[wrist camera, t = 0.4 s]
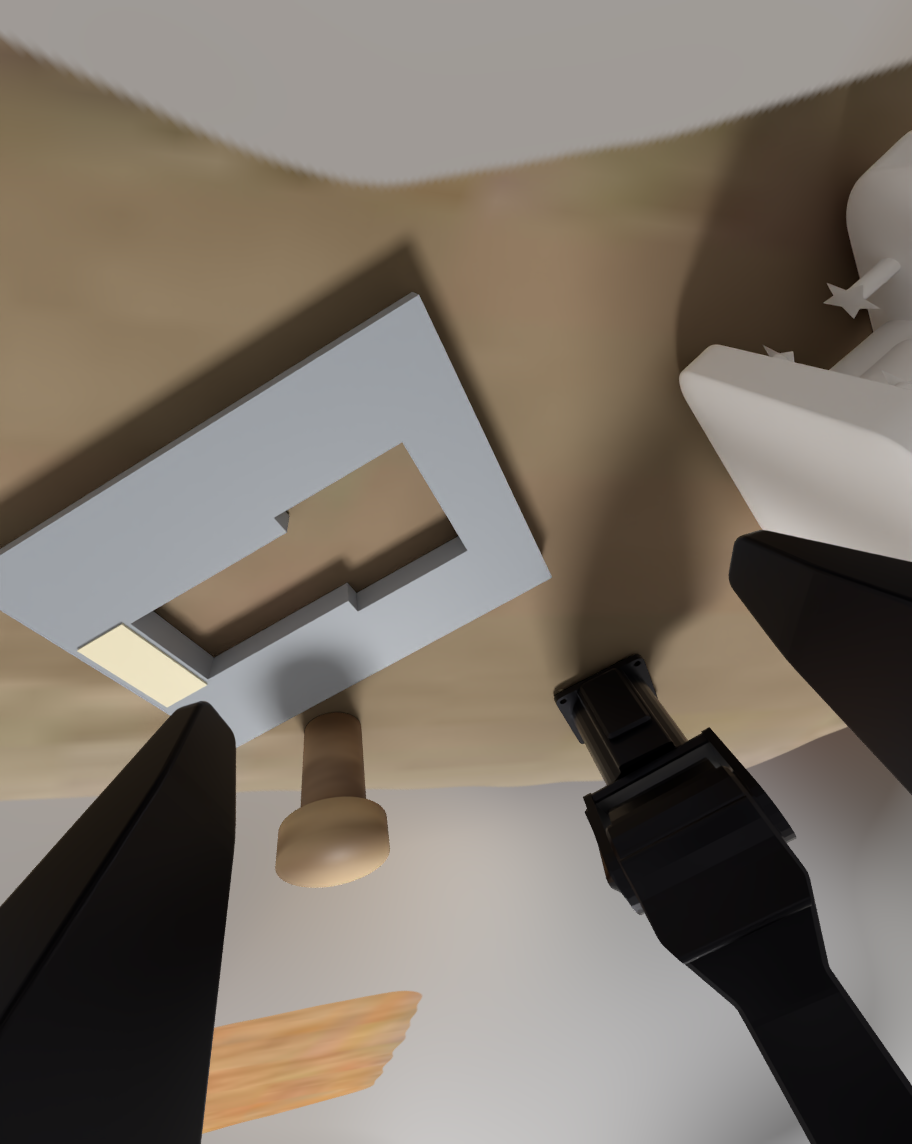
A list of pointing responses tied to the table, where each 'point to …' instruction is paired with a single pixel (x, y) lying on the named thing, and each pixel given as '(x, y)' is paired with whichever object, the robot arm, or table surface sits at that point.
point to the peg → (332, 811)
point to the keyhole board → (279, 533)
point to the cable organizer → (830, 396)
